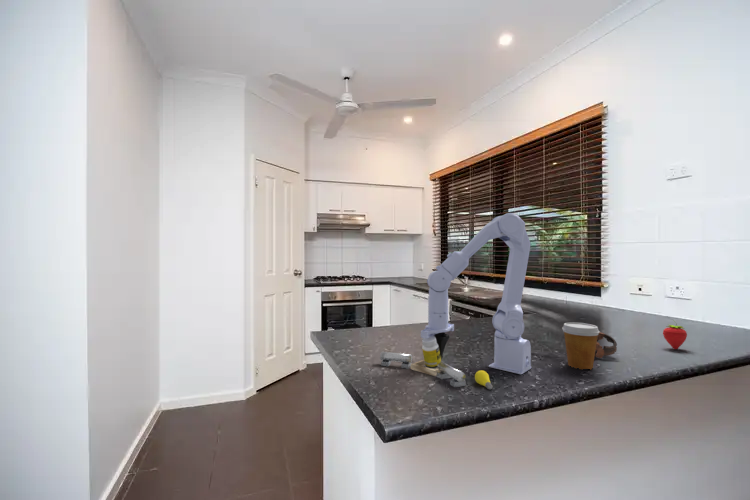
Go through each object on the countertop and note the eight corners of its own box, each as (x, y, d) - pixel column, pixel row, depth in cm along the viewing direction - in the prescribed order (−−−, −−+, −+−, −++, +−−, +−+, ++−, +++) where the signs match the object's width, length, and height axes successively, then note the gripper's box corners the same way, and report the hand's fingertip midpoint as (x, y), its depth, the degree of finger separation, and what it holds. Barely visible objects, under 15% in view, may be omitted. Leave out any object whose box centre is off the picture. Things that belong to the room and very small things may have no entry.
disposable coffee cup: (602, 366, 105) (602, 325, 105) (595, 374, 98) (595, 330, 98) (566, 359, 111) (566, 321, 111) (557, 366, 104) (558, 325, 104)
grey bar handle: (412, 365, 104) (412, 353, 104) (410, 368, 101) (410, 356, 101) (382, 362, 107) (382, 350, 107) (379, 365, 104) (379, 353, 104)
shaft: (436, 376, 95) (436, 362, 95) (446, 374, 96) (446, 361, 96) (455, 388, 87) (456, 373, 87) (466, 386, 88) (466, 371, 88)
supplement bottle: (442, 369, 99) (437, 342, 97) (425, 371, 100) (420, 343, 98) (441, 360, 104) (437, 334, 102) (425, 362, 105) (420, 335, 103)
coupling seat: (448, 370, 100) (448, 365, 100) (434, 376, 95) (435, 370, 95) (424, 363, 106) (425, 359, 106) (410, 369, 101) (410, 364, 101)
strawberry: (657, 347, 126) (657, 319, 127) (673, 346, 128) (673, 318, 128) (675, 352, 121) (675, 322, 121) (692, 350, 123) (692, 321, 123)
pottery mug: (609, 353, 120) (618, 335, 116) (610, 373, 113) (620, 354, 109) (570, 340, 125) (578, 322, 121) (569, 358, 118) (577, 340, 114)
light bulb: (480, 380, 92) (486, 368, 92) (493, 395, 87) (499, 383, 86) (470, 378, 91) (476, 366, 91) (482, 393, 86) (488, 380, 85)
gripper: (440, 308, 112) (439, 351, 112) (412, 313, 101) (411, 361, 101) (460, 310, 107) (460, 356, 107) (433, 316, 96) (432, 367, 96)
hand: (437, 359), depth 103 cm, fingers closed, pressing on supplement bottle
